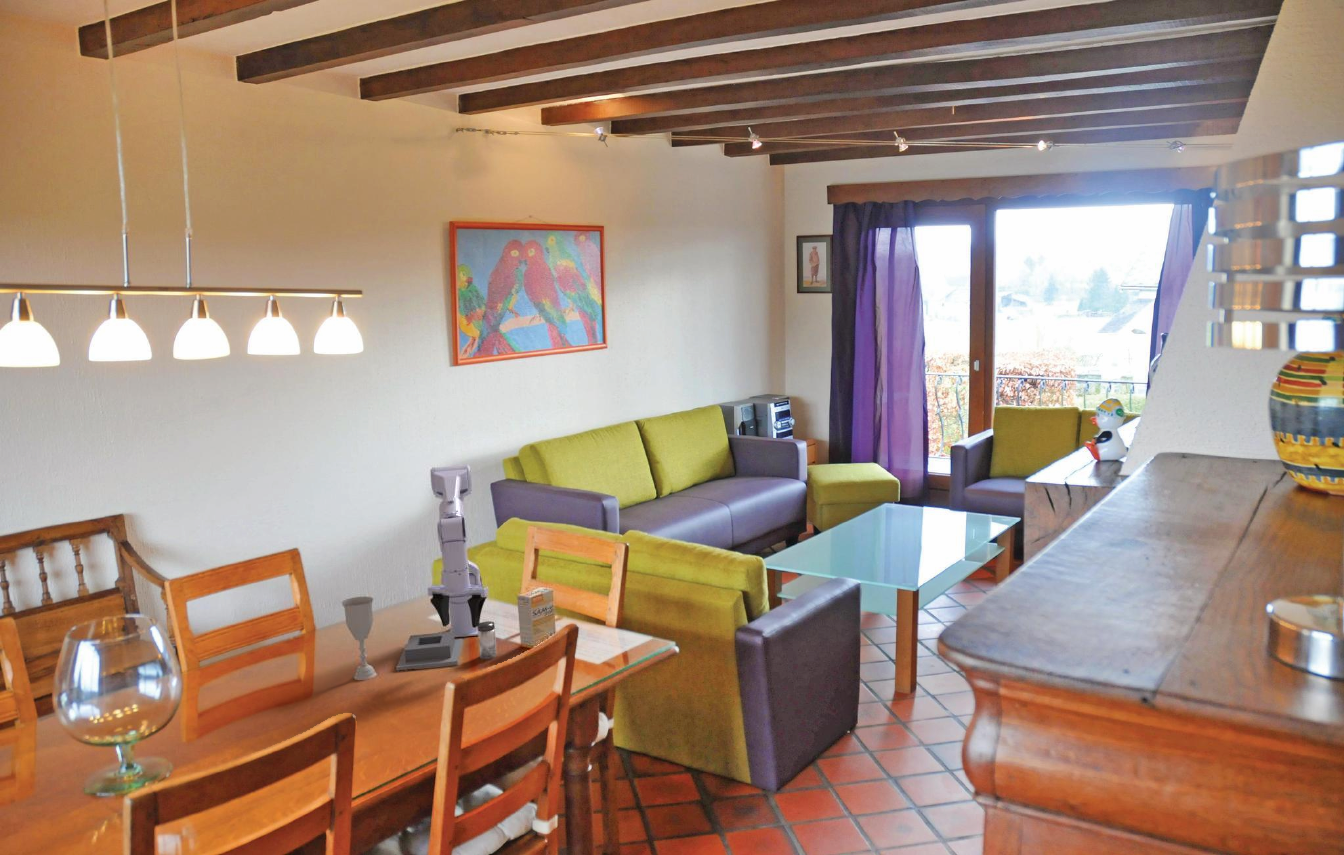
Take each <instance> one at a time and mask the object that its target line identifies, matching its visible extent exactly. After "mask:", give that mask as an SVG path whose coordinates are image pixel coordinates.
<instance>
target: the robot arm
mask: <svg viewBox="0 0 1344 855" xmlns="http://www.w3.org/2000/svg"><path fill="white" fill-rule="evenodd" d="M429 472H430V483H431V484H430V485H431V491H432V493H433V495H434V496H435V498H437V499H441V500H442V501H441V502H440V504H439V506H438V511H439V512H438V514H439V518H438V520H439V521H436V522H437V523H436V529H437V530H436V531H437V540H438V543H439V547H440V552H441V560H442V569H441V572H440V575H441V576H440V584H439V585H438V584H435V585H432V584H431V585H430V586H428V587H427V596H430V597H431V598H430V600H429V601H430V604H431V605H432V606H433V607H434V609H435V611H436V612H437V614H438V616H439V618H440V621H441V622H440V623H441V624H442V627H447V626H448V625H450V629H449V632H453V631H454V639H455V638H462V637H463V638H464V637H472V636H478V627H477V626H478V625H479V623H481V622H482V621H480V620H481V614H482V611H483V606H484V604H485V602H486V599H487V598H488V596H489V587H488V586H484V585H483V586H482V584H481V575H480V574H481V573H480V569H479V566H478V565H477V564H476V563H474V562H472V561H471V560H469V558H468V548H467V541H468V528H467V519H466V517H465V506H464V501H465V498H466V497H468V496H470V495H471V494H472V492H473V491H472V474H471V466H470V465H469V464H468V463H466V464H461V465H460V464H459V465H451V466H441V467H435V466H433V467H431V469H430V471H429Z"/></svg>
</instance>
